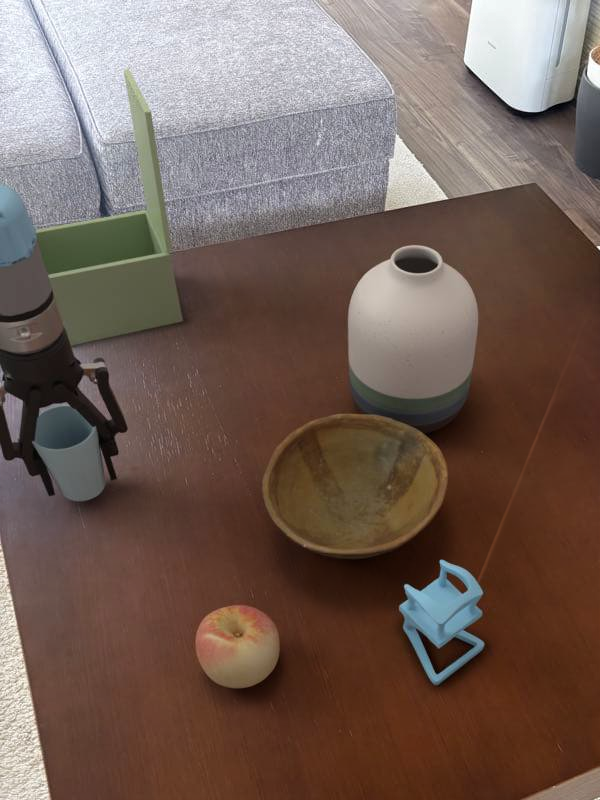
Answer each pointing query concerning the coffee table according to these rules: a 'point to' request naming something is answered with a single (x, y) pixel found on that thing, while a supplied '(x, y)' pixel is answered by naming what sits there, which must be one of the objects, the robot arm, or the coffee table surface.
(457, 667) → the chair
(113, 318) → the chest
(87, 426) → the cup
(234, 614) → the apple
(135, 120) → the lid
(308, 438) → the bowl
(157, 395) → the coffee table surface
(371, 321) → the vase
